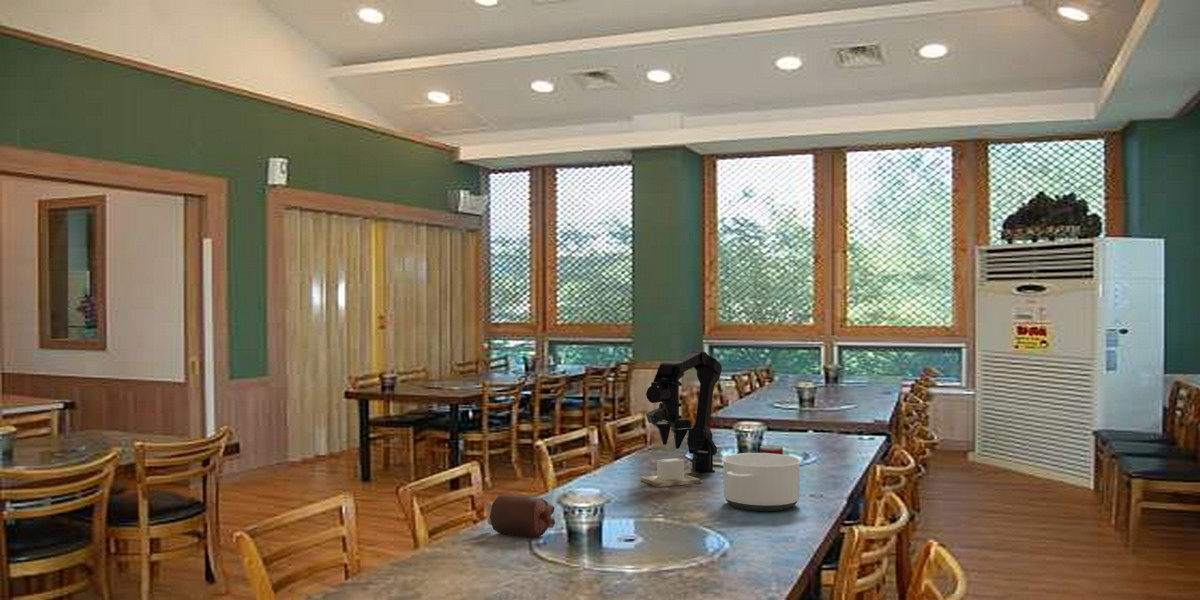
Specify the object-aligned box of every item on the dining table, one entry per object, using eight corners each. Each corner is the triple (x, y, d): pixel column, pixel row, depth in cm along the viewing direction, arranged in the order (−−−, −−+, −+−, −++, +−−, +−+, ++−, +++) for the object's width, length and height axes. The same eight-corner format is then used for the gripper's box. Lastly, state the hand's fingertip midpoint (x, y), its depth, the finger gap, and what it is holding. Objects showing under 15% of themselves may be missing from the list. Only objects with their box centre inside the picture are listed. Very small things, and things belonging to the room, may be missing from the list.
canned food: (781, 477, 321) (781, 445, 321) (784, 481, 313) (783, 448, 313) (759, 476, 322) (758, 444, 322) (760, 481, 314) (760, 448, 314)
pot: (772, 521, 257) (772, 471, 257) (698, 510, 271) (698, 463, 271) (821, 500, 284) (821, 455, 284) (752, 491, 298) (752, 448, 298)
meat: (475, 536, 243) (475, 497, 243) (500, 527, 253) (500, 489, 253) (542, 544, 234) (541, 503, 234) (565, 534, 244) (564, 494, 244)
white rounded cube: (677, 476, 318) (677, 458, 318) (683, 478, 313) (683, 460, 313) (657, 477, 315) (656, 459, 315) (663, 480, 310) (663, 462, 310)
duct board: (683, 476, 323) (683, 461, 323) (700, 483, 311) (700, 467, 311) (641, 480, 316) (641, 465, 316) (656, 486, 305) (656, 470, 305)
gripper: (636, 398, 321) (637, 444, 322) (661, 404, 304) (662, 452, 304) (665, 397, 326) (666, 442, 326) (692, 402, 309) (692, 450, 309)
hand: (671, 446), depth 316 cm, fingers open, 9 cm apart
